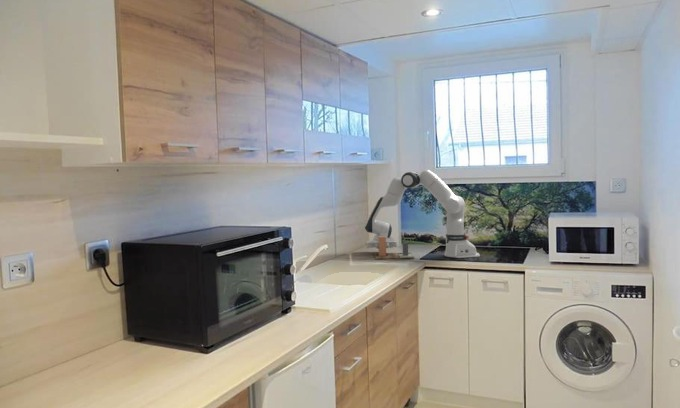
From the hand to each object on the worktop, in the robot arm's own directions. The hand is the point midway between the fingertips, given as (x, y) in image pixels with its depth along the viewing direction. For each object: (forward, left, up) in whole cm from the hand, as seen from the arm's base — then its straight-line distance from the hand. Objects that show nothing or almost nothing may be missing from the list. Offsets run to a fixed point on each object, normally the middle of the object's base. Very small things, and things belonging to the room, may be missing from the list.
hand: (382, 245), depth 328 cm
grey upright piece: (-14, +7, -6) cm, 17 cm away
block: (0, -1, -7) cm, 7 cm away
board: (-7, +1, -8) cm, 11 cm away
